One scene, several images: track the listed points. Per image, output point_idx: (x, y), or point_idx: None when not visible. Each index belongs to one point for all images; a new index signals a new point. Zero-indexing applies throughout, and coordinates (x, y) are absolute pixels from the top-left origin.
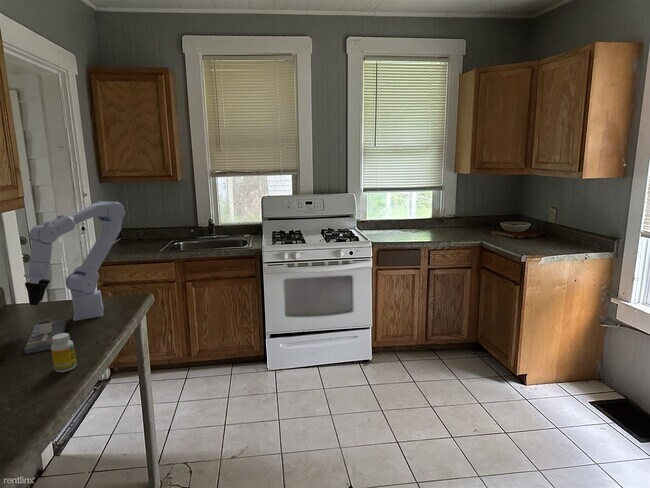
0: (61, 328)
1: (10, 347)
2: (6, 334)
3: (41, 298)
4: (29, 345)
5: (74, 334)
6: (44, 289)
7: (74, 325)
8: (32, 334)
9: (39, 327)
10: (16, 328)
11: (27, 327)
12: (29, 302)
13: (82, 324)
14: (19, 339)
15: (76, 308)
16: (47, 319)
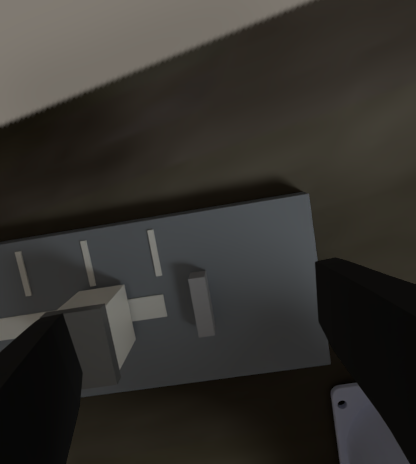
0: (156, 378)
1: (23, 143)
2: (253, 29)
3: (332, 342)
4: None
5: (114, 430)
6: (408, 450)
7: (258, 403)
8: (109, 235)
9: (60, 307)
10: (349, 55)
11: (338, 127)
12: (29, 327)
13: (258, 441)
14: (134, 150)
15: (385, 458)
16: (93, 367)
